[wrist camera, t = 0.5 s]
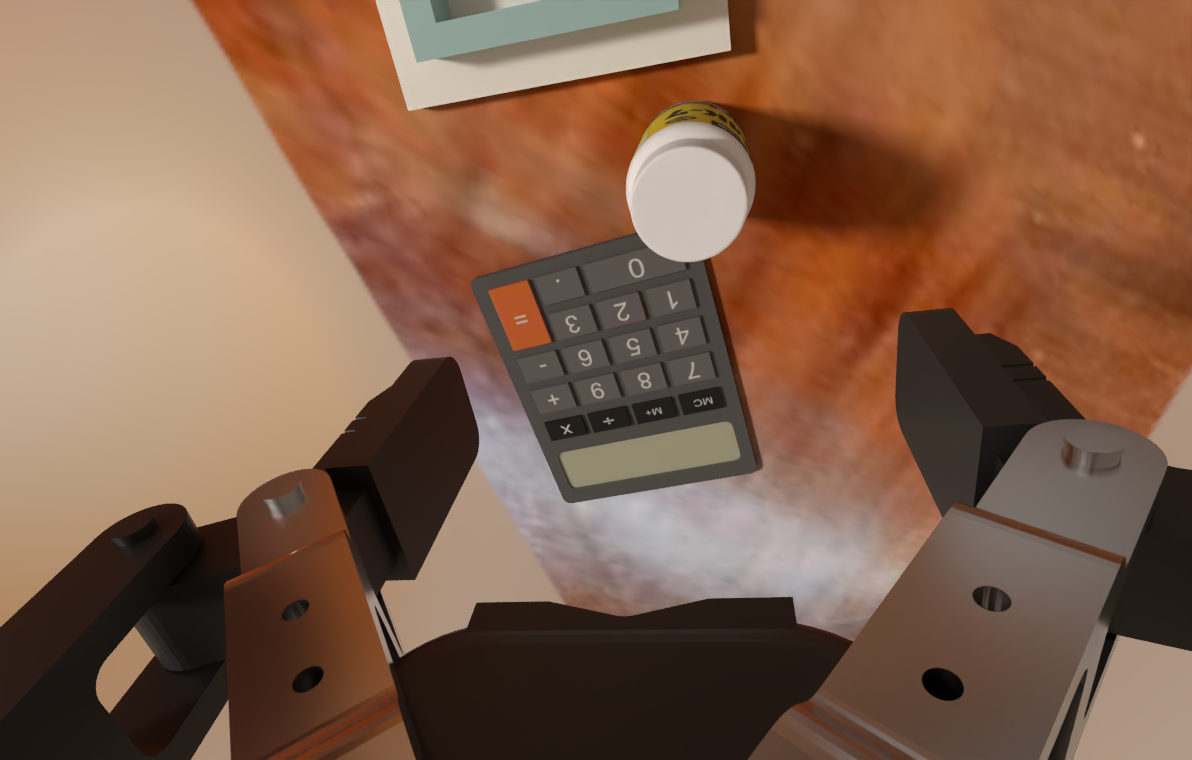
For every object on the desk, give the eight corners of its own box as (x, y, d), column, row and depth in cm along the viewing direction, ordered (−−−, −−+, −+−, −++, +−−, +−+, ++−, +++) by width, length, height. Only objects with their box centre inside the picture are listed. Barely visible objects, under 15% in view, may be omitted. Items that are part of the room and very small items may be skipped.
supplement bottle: (764, 120, 28) (787, 164, 21) (721, 222, 31) (728, 292, 24) (659, 82, 28) (645, 113, 21) (624, 188, 31) (601, 248, 23)
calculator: (692, 220, 30) (758, 474, 37) (692, 214, 31) (756, 464, 38) (467, 282, 33) (565, 506, 40) (472, 275, 34) (567, 496, 41)
